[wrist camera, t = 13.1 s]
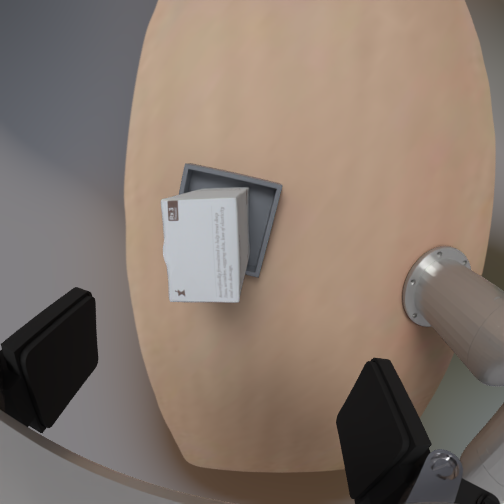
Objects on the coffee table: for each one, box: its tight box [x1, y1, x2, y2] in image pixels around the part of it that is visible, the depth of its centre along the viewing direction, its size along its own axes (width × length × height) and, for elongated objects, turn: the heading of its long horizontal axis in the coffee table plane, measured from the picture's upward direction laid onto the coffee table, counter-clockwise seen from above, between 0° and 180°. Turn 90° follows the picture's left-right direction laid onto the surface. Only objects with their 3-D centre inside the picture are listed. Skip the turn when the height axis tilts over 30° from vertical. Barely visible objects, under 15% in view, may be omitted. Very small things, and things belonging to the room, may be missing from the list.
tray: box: [179, 163, 282, 277], centre depth 35 cm, size 11×11×3 cm
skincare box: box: [161, 187, 250, 302], centre depth 29 cm, size 8×6×15 cm
